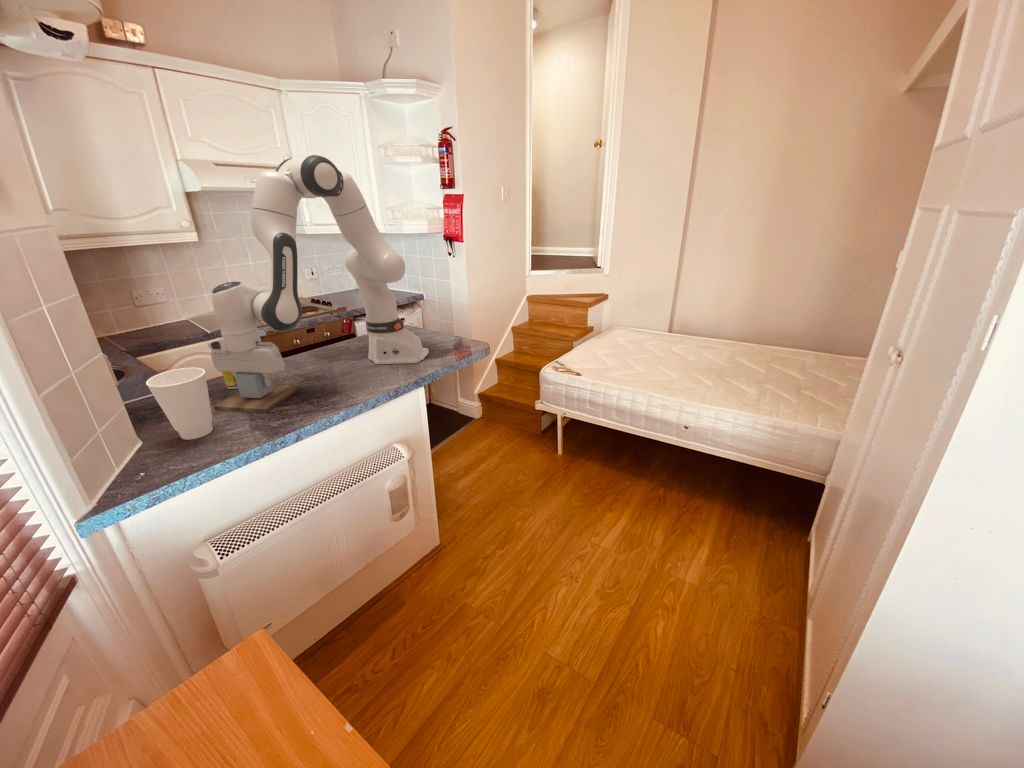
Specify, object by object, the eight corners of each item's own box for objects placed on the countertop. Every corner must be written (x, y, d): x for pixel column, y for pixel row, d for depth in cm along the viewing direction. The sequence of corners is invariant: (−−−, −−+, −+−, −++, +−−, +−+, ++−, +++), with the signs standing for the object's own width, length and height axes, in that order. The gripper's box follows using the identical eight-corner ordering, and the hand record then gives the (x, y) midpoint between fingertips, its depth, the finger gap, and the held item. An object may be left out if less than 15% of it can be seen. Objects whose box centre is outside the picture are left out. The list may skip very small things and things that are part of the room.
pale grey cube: (273, 389, 129) (268, 368, 126) (260, 398, 124) (253, 376, 121) (255, 388, 130) (249, 367, 127) (241, 397, 124) (234, 375, 122)
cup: (169, 430, 111) (147, 374, 105) (222, 417, 118) (204, 363, 111) (168, 450, 102) (143, 390, 96) (225, 435, 109) (205, 378, 102)
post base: (299, 389, 134) (294, 368, 131) (266, 412, 119) (259, 389, 116) (253, 386, 136) (247, 366, 133) (215, 409, 121) (207, 387, 118)
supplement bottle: (237, 390, 134) (228, 361, 130) (222, 388, 135) (213, 360, 131) (250, 383, 139) (242, 355, 135) (236, 382, 140) (227, 354, 136)
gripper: (283, 338, 122) (294, 382, 127) (219, 336, 124) (232, 379, 130) (268, 345, 116) (281, 391, 122) (202, 343, 118) (216, 388, 124)
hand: (255, 385), depth 126 cm, fingers closed on pale grey cube, 6 cm apart
